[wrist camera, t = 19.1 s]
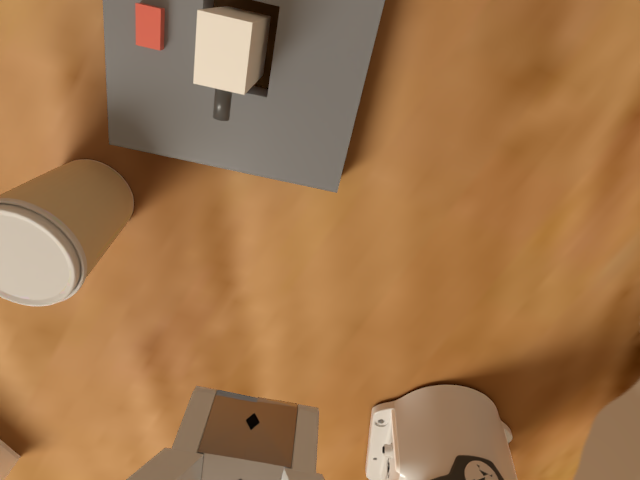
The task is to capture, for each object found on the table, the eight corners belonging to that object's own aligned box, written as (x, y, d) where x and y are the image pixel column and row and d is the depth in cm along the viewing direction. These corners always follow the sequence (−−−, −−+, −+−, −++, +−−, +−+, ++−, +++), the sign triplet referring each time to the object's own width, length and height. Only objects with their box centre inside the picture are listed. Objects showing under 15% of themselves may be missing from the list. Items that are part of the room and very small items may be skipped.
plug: (259, 103, 37) (240, 129, 30) (219, 94, 37) (191, 118, 30) (271, 16, 34) (252, 22, 27) (227, 5, 34) (197, 9, 27)
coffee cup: (29, 187, 43) (-73, 251, 32) (84, 129, 39) (-9, 179, 29) (105, 251, 46) (35, 327, 36) (162, 203, 43) (104, 271, 32)
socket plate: (337, 179, 41) (336, 196, 37) (124, 134, 39) (104, 147, 36) (400, -77, 31) (407, -85, 27) (117, -149, 29) (89, -167, 26)
